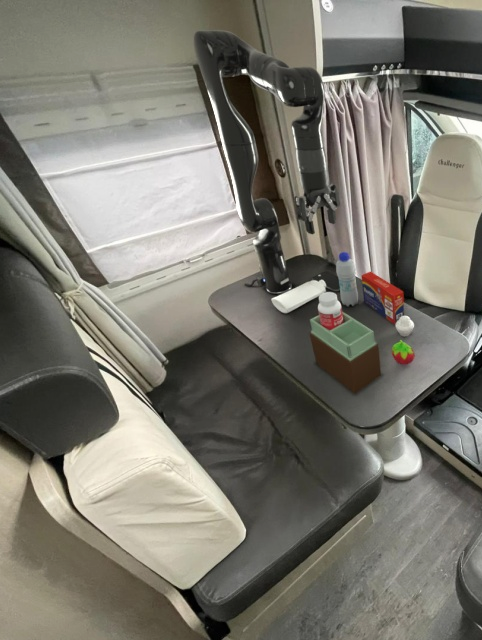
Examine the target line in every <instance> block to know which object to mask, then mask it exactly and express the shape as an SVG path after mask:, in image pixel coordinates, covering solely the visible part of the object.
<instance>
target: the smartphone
mask: <svg viewBox="0 0 482 640" xmlns="http://www.w3.org/2000/svg"><path fill="white" fill-rule="evenodd" d="M313 280H315V281H318V282H319V281H320V280H324V282H325V283H326V288H325V289H328V290H330V291H331V292H333V293H336V292H340V285H339V279H338V276H337V275H334V274H332V273H330V272H328V271H323V272H321V273H319V274H317V275H314V276H313V277H312V278H311V281H313Z"/></svg>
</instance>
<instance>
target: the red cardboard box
mask: <svg viewBox="0 0 482 640" xmlns="http://www.w3.org/2000/svg"><path fill="white" fill-rule="evenodd" d="M361 283H362V284H361V285H362V293H363V294H362V295H363V303H364V304H365V305H367V306H368V307H369V308H371V309H372V310H373V311H375V312H377V314H379V315H380V316H382V317H384V318H385V319H387V321H389V322H390V323H392V324H393V325H394V326H395V325H396V322H397V321H398V320H399V319H400V317H401V316H405V298H404V297H405V296H404V294H405V293H404V291H403V290H402V289H400V288H399V287H397V286H395V285H393V284H392V283H390V282H388V281H387V280H385V279H383V277H380V276H379V275H378V274H375V273H374V272H372V271H368V272H366V273H364V274H363V273H362V274H361Z"/></svg>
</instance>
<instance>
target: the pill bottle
mask: <svg viewBox="0 0 482 640" xmlns="http://www.w3.org/2000/svg"><path fill="white" fill-rule="evenodd" d="M318 302H319V303H318V305H317V311H318V315H319V316H320V321H321V325H322V326H323V327H324V328H326V329H327V330H329V331H330V330H332V329H334V328H336V327H337V326H339V325H341V324H343V323H344V321H343V315H342V312H343V307H342V304H341V302H340V301H339V300H338V295H337V294H336V292H334V291H326V292H324V293H322V294H321V295H320V296H318Z"/></svg>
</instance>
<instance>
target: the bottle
mask: <svg viewBox="0 0 482 640" xmlns="http://www.w3.org/2000/svg"><path fill="white" fill-rule="evenodd" d="M355 265H356V264H355V261H354V260H353V259H352V258H350V254H349V253H348V252H346V251H343V252H339V254H338V259H337V261H336V262H335V270H336V271H335V272H336V277H338V279H339V285H340V290H339V292H340V295H339V296H340V301H341V303H342V305H343V306H346V307H350V305H351V306H352V307H354V306H355V305H357V304H358V303H359V293H358V288H357V279H356V274H357V272H356V269H357V268H356V266H355Z"/></svg>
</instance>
